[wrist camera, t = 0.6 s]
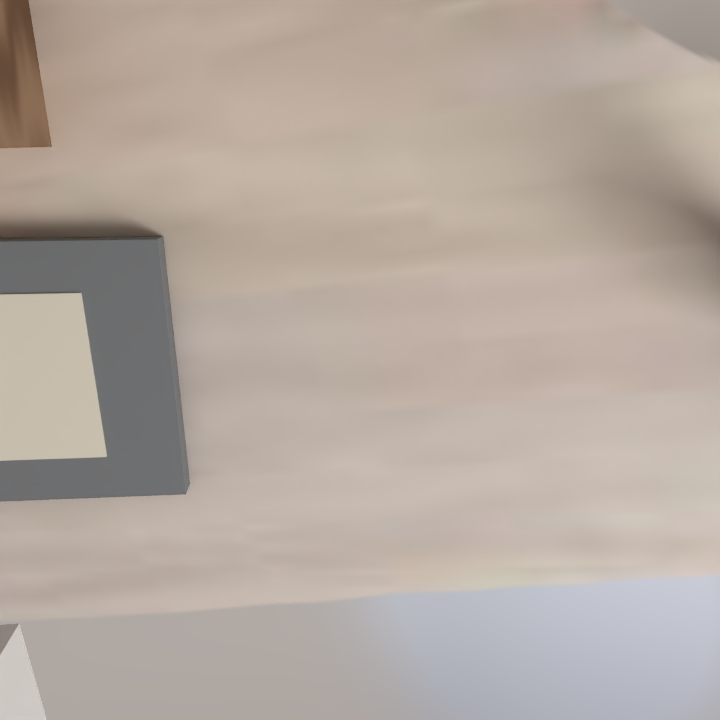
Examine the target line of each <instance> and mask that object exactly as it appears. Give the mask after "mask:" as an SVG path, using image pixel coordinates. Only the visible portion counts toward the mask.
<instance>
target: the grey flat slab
mask: <svg viewBox="0 0 720 720" xmlns="http://www.w3.org/2000/svg"><path fill="white" fill-rule="evenodd" d="M189 484H190V482H189V472H188V463H187V454H186V445H185V435H184V426H183V417H182V408H181V399H180V389H179V380H178V371H177V362H176V352H175V343H174V334H173V325H172V316H171V306H170V297H169V288H168V279H167V269H166V260H165V251H164V242H163V236H136V237H54V238H0V501H23V500H49V499H75V498H101V497H126V496H152V495H178V494H186V492H187V490H188V487H189Z"/></svg>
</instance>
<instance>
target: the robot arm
mask: <svg viewBox="0 0 720 720" xmlns="http://www.w3.org/2000/svg"><path fill="white" fill-rule="evenodd" d="M0 720H47V719H46V716H45V712H44V709H43V705H42V702H41V698H40V695H39V691H38V688H37V684H36V681H35V677H34V674H33V670H32V667H31V663H30V660H29V656H28V653H27V649H26V646H25V642H24V639H23V636H22V632H21V628H20V625H19V624H7V625H0Z"/></svg>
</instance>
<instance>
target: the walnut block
mask: <svg viewBox="0 0 720 720" xmlns="http://www.w3.org/2000/svg"><path fill="white" fill-rule="evenodd" d="M21 147H52V145H51V139H50V133H49V126H48V120H47V114H46V108H45V102H44V95H43V89H42V83H41V77H40V70H39V64H38V58H37V52H36V45H35V39H34V33H33V27H32V21H31V14H30V8H29V2H28V0H0V148H21Z"/></svg>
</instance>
